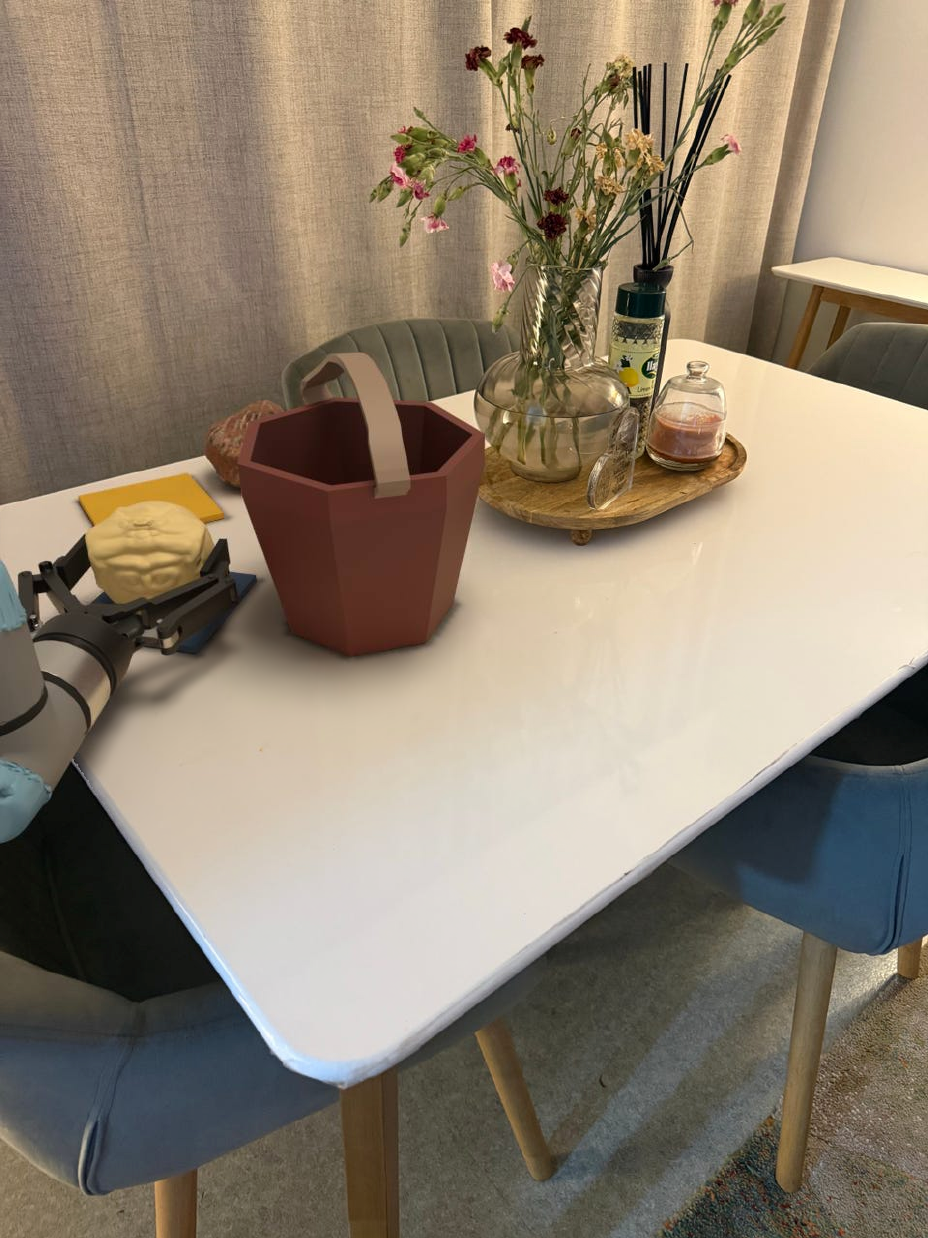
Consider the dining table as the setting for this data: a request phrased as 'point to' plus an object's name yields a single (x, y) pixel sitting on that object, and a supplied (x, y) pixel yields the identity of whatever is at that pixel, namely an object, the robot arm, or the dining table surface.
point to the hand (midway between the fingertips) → (158, 547)
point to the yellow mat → (152, 498)
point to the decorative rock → (233, 438)
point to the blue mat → (200, 637)
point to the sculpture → (147, 550)
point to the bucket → (362, 508)
